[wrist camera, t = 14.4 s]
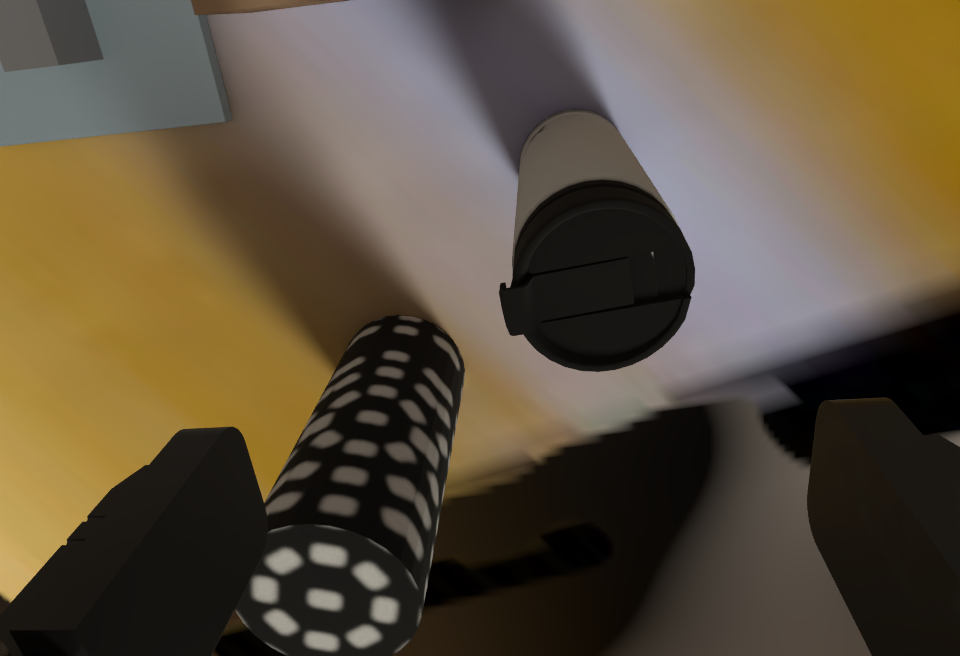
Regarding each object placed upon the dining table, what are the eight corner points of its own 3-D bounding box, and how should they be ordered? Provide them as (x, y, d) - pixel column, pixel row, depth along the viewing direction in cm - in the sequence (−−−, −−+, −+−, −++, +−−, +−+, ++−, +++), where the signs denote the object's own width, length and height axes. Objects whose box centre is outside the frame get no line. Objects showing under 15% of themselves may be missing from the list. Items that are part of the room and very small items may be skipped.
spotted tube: (341, 410, 49) (228, 649, 31) (349, 305, 45) (227, 508, 27) (455, 429, 49) (410, 680, 31) (473, 326, 45) (433, 543, 27)
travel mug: (504, 121, 39) (481, 225, 21) (620, 98, 38) (697, 185, 20) (524, 225, 42) (517, 394, 24) (633, 205, 41) (711, 367, 23)
